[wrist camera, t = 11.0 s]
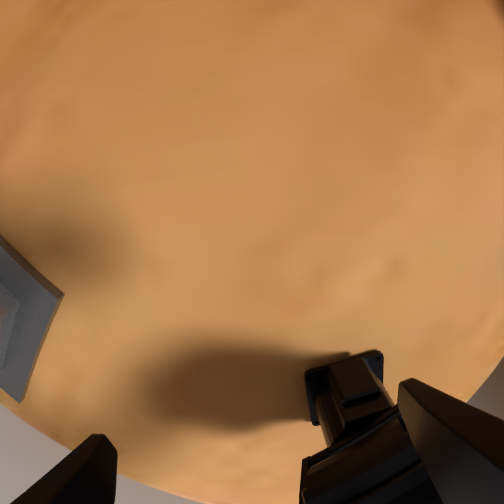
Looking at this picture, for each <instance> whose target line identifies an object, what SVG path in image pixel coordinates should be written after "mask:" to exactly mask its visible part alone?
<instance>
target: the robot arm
mask: <svg viewBox="0 0 504 504" xmlns="http://www.w3.org/2000/svg"><path fill="white" fill-rule="evenodd" d="M377 356H378V358H376V357H377ZM383 363H384V356H383V354H382V353H381V351H374V352H371V353H368V354H365V355H362V356H358V357H355V358H352V359H348V360H345V361H341V362H338V363H334V364H331V365H327V366H323V367H319V368H315V369H312V370H308V371H306V372H305V374H304V380H305V386H306V392H307V398H308V404H309V410H310V416H311V421H312V424H313V425H314V426H319V425H321V428H322V431H323V435H324V438H325V441H326V445H327V448H326V449H324V450H322V451H320V452H318V453H316V454H314V455H313V456H311V457H310V456H308V457H306V458H304V459H302V469H301V481H300V492H299V504H504V420H503V419H500V418H498V417H496V416H494V415H491V414H489V413H487V412H485V411H483V410H480V409H478V408H476V407H474V406H471V405H469V404H467V403H465V402H463V401H461V400H459V399H456V398H454V397H452V396H450V395H448V394H446V393H444V392H442V391H440V390H437V389H435V388H433V387H431V386H429V385H427V384H425V383H423V382H421V381H419V380H417V379H415V378H409V379H406V380H404V381H401V382H400V383H399V388H398V399H397V404H396V405H395V404H394V402H393V401H392V399H391V397H390V396H389V394H388V392H387V391H386V389H385V387H384V386H383ZM311 375H313V376H312V377H309V376H311ZM317 420H318V421H317ZM117 459H118V454H117V450H116V449H115V447H114V446H113V445H112V443H111V442H110V441H109V439H108V438H107V437H106V436H105V435H104V434H92V435H90V436H89V437H88V438H87V439H86V440H85V441H83V442H82V443H81V444H80V445H79V446H78V447H77V448H75V449H74V450H73V451H72V452H71V453H70V454H69V455H67V457H65V458H64V459H63V460H62V461H60V462H59V463H58V464H57V465H56V466H55V467H54V468H52V469H51V470H50V471H49V472H48V473H47V474H45V475H44V476H43V477H42V478H41V479H40V480H38V481H37V482H36V483H35V484H33V485H32V486H31V487H30V488H29V489H28V490H26V492H24V493H23V494H21V495H20V496H19V497H18V498H17V499H15V500H14V501H13V502H12V503H10V504H114V502H115V494H116V475H117Z"/></svg>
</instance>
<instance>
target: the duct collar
mask: <svg viewBox="0 0 504 504" xmlns="http://www.w3.org/2000/svg"><path fill="white" fill-rule="evenodd" d="M63 296H64V293H62V292H61V291H60V290H59V289H58V288H56V287H55V286H54V285H53V284H52V283H51V282H49V281H48V280H47V279H46V278H45V277H44V276H43V275H41V274H40V273H39V272H38V271H37V270H36V269H35V268H34V267H33V266H32V265H30V264H29V263H28V262H27V261H26V260H25V259H24V258H23V257H22V256H21V255H20V254H19V253H18V252H17V251H16V250H15V249H14V248H13V247H12V246H11V245H10V244H9V243H8V242H7V241H6V240H5V239H4V238H3V237H2V236H1V235H0V387H1V388H2V389H3V390H4V391H5V392H7V393H8V394H9V395H10V396H11V397H12V398H14V399H15V400H16V401H17V402H18V403H21V402H22V400H23V399H24V397H25V394H26V391H27V387H28V384H29V381H30V378H31V375H32V373H33V370H34V367H35V364H36V361H37V359H38V356H39V353H40V351H41V348H42V345H43V343H44V340H45V338H46V335H47V333H48V331H49V328H50V326H51V323H52V321H53V319H54V316H55V314H56V312H57V310H58V307H59V305H60V303H61V301H62V299H63Z"/></svg>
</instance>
